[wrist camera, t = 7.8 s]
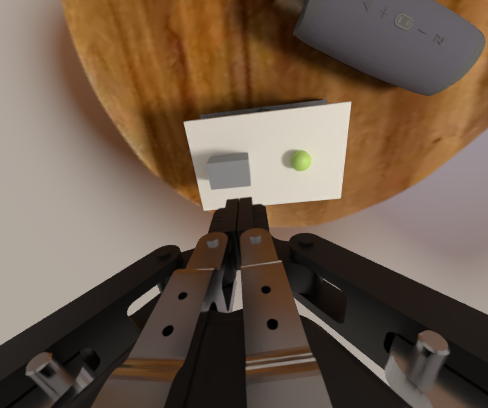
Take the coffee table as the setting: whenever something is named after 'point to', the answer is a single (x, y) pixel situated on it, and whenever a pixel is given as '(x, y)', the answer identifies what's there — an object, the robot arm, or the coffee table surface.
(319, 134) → the plate
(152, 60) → the coffee table surface
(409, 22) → the bluetooth speaker
